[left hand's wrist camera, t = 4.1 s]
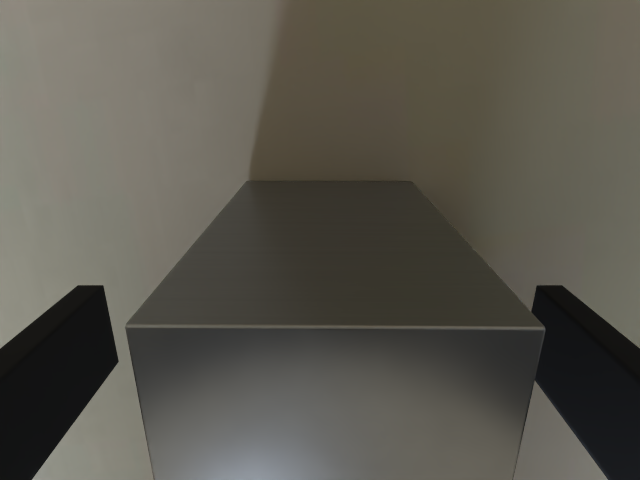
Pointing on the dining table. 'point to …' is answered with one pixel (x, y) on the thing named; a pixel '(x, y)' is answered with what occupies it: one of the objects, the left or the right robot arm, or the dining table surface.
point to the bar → (333, 344)
